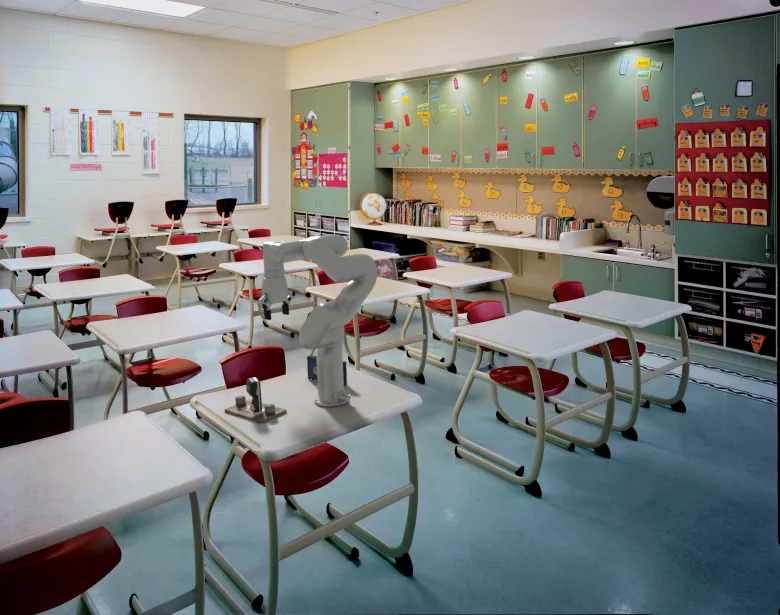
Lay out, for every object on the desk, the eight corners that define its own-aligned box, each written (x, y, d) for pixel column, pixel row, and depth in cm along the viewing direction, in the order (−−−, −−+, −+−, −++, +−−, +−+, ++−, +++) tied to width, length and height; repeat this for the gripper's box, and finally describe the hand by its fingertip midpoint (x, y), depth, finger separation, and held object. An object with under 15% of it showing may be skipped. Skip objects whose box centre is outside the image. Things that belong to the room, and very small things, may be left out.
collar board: (286, 412, 229) (285, 401, 228) (261, 423, 219) (261, 412, 218) (249, 401, 239) (249, 391, 238) (224, 412, 230) (223, 401, 229)
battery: (246, 407, 231) (244, 377, 228) (257, 405, 232) (255, 375, 230) (252, 413, 224) (249, 383, 222) (262, 411, 226) (260, 381, 224)
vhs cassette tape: (347, 385, 255) (346, 361, 253) (343, 387, 253) (342, 363, 250) (312, 377, 265) (311, 354, 263) (307, 379, 262) (306, 356, 260)
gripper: (283, 269, 254) (285, 311, 258) (250, 276, 241) (253, 320, 245) (297, 271, 250) (299, 313, 254) (264, 278, 237) (267, 323, 240)
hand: (277, 316), depth 249 cm, fingers open, 9 cm apart
